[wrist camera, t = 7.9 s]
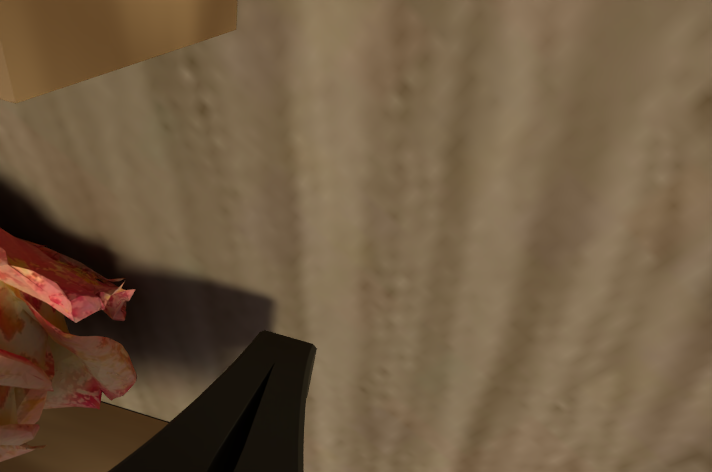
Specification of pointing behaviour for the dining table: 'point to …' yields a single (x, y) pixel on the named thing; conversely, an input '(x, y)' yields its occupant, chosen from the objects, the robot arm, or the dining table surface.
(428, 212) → the dining table surface
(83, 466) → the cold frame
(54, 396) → the flower
